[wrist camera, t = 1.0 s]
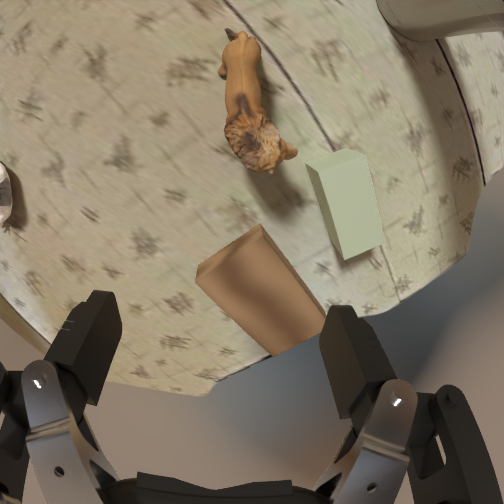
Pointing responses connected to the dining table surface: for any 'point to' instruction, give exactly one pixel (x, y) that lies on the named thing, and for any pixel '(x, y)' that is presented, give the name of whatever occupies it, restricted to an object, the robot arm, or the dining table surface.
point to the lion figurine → (249, 108)
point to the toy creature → (5, 195)
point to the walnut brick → (261, 292)
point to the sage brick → (347, 201)
